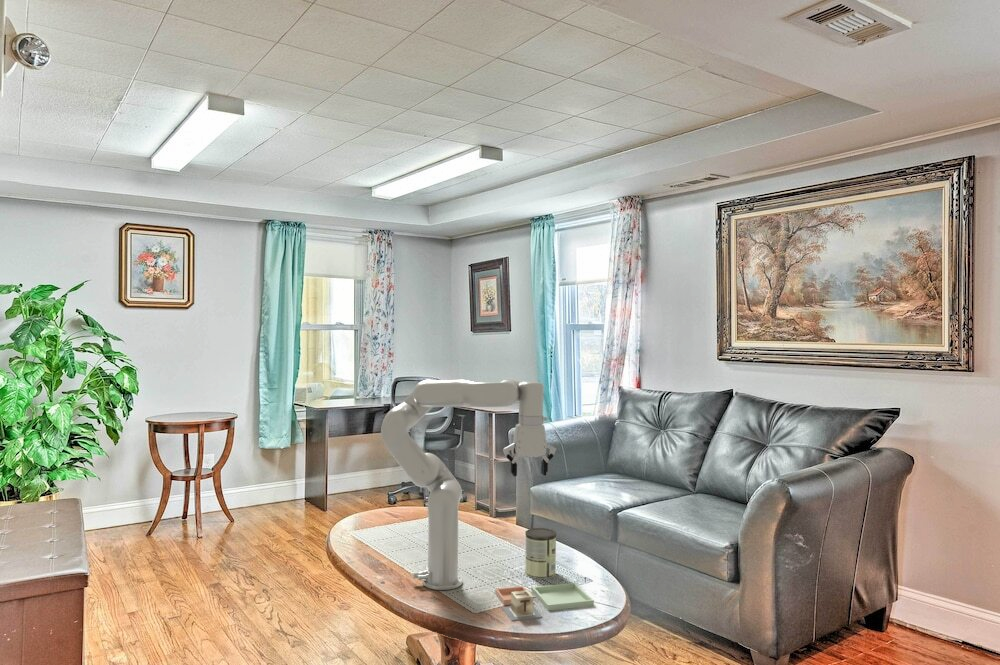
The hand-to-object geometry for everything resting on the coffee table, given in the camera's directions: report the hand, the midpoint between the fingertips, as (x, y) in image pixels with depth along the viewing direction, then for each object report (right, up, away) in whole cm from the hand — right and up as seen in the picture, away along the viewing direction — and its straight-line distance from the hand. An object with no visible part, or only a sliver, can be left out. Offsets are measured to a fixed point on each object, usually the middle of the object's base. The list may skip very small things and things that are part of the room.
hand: (529, 474), depth 220 cm
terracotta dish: (-5, -36, -10) cm, 37 cm away
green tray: (+9, -36, -10) cm, 38 cm away
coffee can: (+4, -36, +12) cm, 38 cm away
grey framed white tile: (-3, -36, -21) cm, 41 cm away
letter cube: (-3, -35, -21) cm, 41 cm away
